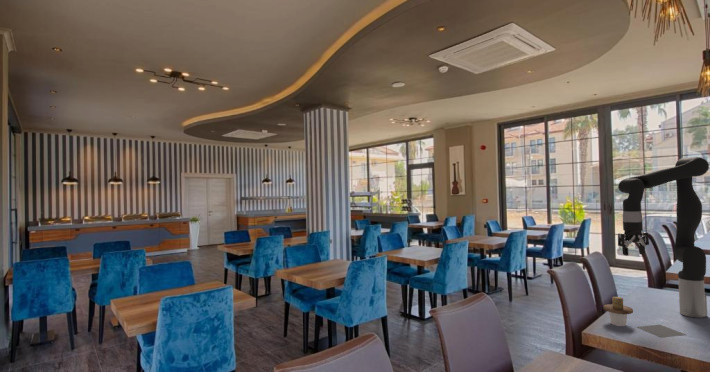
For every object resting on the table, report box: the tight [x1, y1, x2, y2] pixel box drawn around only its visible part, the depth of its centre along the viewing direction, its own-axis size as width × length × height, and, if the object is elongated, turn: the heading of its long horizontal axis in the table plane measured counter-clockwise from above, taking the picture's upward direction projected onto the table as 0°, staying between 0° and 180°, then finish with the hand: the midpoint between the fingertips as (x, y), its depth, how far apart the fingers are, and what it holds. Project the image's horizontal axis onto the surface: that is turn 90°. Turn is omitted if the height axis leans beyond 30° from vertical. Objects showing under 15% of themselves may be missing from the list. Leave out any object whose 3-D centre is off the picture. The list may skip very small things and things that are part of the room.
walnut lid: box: [603, 296, 634, 315], centre depth 172 cm, size 11×11×6 cm
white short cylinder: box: [608, 312, 628, 327], centre depth 172 cm, size 7×7×7 cm
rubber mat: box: [636, 324, 687, 339], centre depth 162 cm, size 12×12×1 cm
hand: (633, 254), depth 180 cm, fingers open, 8 cm apart
